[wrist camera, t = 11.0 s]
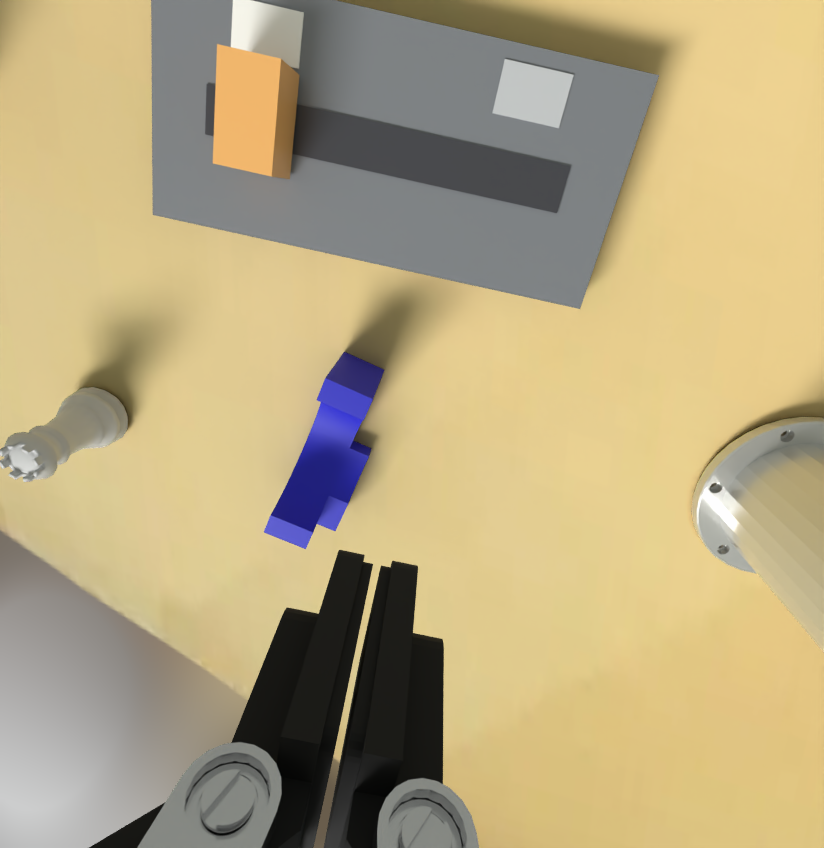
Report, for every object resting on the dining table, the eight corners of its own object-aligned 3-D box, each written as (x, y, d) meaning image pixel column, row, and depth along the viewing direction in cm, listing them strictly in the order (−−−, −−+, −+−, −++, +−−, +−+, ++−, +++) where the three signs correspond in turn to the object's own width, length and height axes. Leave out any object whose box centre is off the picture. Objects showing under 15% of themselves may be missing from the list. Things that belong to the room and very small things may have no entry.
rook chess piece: (94, 372, 36) (5, 415, 29) (143, 417, 37) (70, 468, 30) (61, 409, 38) (-33, 458, 30) (109, 451, 39) (30, 508, 31)
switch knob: (299, 74, 26) (281, 58, 23) (289, 179, 28) (271, 176, 25) (242, 62, 26) (217, 44, 23) (237, 167, 28) (212, 163, 25)
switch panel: (644, 84, 27) (659, 74, 25) (572, 302, 32) (580, 309, 30) (171, -26, 27) (150, -44, 25) (169, 214, 32) (152, 214, 30)
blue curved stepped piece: (343, 508, 40) (326, 557, 34) (289, 486, 39) (263, 532, 34) (404, 377, 35) (396, 409, 30) (344, 350, 35) (325, 378, 29)
